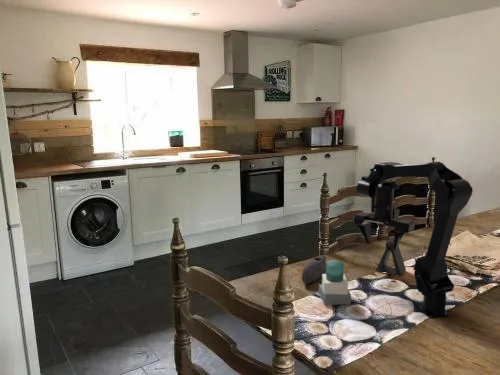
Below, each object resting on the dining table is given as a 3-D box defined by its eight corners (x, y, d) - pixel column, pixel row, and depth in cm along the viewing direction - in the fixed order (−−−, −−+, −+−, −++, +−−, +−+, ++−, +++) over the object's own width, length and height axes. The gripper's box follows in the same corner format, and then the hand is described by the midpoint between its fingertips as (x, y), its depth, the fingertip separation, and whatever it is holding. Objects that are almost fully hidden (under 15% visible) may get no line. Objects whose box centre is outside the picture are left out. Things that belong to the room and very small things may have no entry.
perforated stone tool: (309, 288, 132) (309, 269, 130) (295, 284, 135) (295, 265, 134) (330, 274, 143) (330, 255, 142) (317, 270, 146) (317, 252, 145)
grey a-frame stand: (375, 271, 145) (377, 239, 143) (381, 265, 150) (382, 235, 148) (401, 276, 140) (403, 244, 138) (406, 271, 145) (407, 239, 142)
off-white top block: (347, 294, 120) (347, 283, 120) (324, 294, 121) (324, 283, 120) (344, 284, 127) (344, 274, 126) (322, 284, 128) (322, 273, 127)
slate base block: (350, 305, 121) (350, 294, 120) (324, 306, 121) (324, 295, 120) (343, 293, 129) (343, 283, 128) (318, 294, 128) (318, 284, 128)
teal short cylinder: (345, 282, 121) (345, 266, 120) (328, 282, 121) (328, 267, 120) (340, 275, 126) (341, 260, 125) (324, 275, 126) (324, 260, 125)
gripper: (422, 200, 129) (419, 246, 132) (367, 193, 141) (366, 235, 144) (409, 207, 121) (406, 255, 124) (352, 199, 133) (351, 243, 136)
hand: (381, 246), depth 132 cm, fingers open, 9 cm apart
